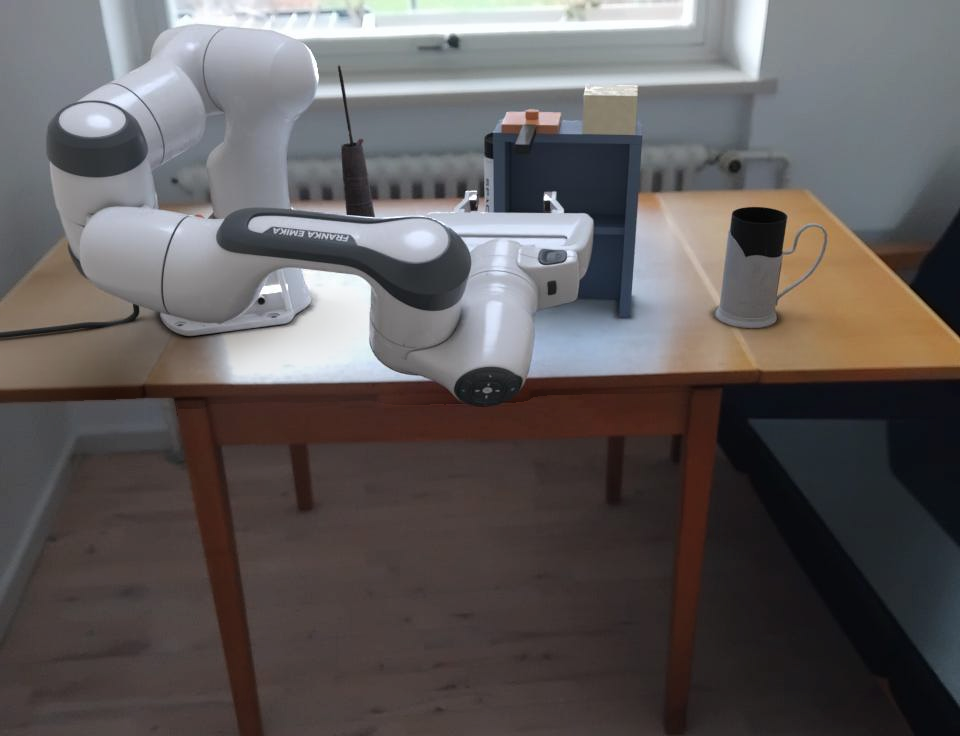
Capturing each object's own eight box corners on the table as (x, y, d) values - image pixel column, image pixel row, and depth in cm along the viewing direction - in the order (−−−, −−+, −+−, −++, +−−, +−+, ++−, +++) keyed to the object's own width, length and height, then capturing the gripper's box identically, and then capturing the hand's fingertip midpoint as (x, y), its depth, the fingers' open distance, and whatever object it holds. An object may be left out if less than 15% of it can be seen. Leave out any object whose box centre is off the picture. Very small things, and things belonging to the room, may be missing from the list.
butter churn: (369, 214, 193) (357, 55, 178) (400, 225, 187) (391, 62, 172) (329, 224, 188) (313, 62, 173) (360, 236, 182) (347, 70, 167)
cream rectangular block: (635, 135, 136) (637, 95, 133) (582, 134, 137) (583, 94, 134) (635, 122, 142) (637, 84, 139) (584, 122, 142) (586, 84, 140)
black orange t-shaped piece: (552, 154, 128) (552, 136, 127) (492, 153, 129) (492, 135, 128) (561, 121, 143) (561, 104, 142) (507, 120, 144) (507, 104, 143)
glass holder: (711, 304, 153) (722, 205, 145) (806, 304, 153) (823, 205, 145) (720, 328, 146) (733, 225, 138) (821, 328, 145) (839, 224, 137)
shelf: (630, 317, 149) (642, 135, 136) (494, 312, 152) (493, 132, 138) (630, 297, 156) (642, 121, 142) (500, 292, 158) (499, 118, 145)
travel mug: (523, 248, 175) (524, 128, 165) (520, 262, 170) (521, 138, 159) (487, 248, 176) (485, 128, 165) (483, 261, 170) (481, 138, 160)
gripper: (414, 297, 119) (429, 214, 127) (590, 300, 117) (595, 216, 124) (406, 258, 114) (422, 174, 121) (590, 260, 111) (595, 174, 119)
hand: (511, 195), depth 123 cm, fingers open, 8 cm apart
